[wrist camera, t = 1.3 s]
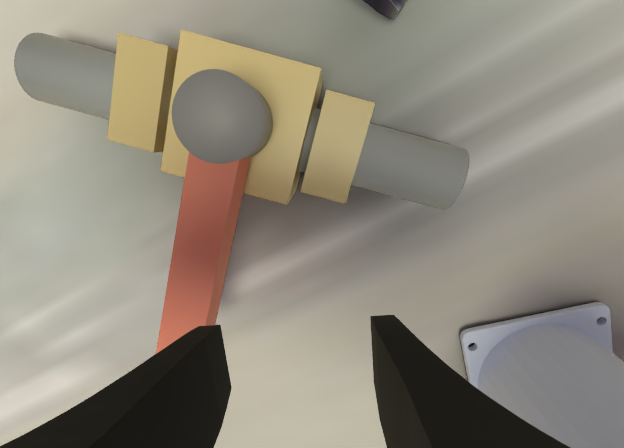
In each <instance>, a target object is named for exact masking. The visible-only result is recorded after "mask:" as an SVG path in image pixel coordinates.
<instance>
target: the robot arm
mask: <svg viewBox="0 0 624 448" xmlns="http://www.w3.org/2000/svg"><path fill="white" fill-rule="evenodd" d="M600 317H601V319H600V320H599V321H597V320H598V318H600ZM371 334H372V352H373V371H374V384H375V391H376V398H377V404H378V410H379V417H380V422H381V426H382V430H383V433H384V437H385V441H386V445H387V448H624V361H622V360H621V359H620V358H618V357H617V356H616V355H614V354H613V346H612V331H611V317H610V309H609V307H608V306H606V305H605V304H603V303H601V302H594V303H589V304H584V305H579V306H575V307H570V308H565V309H560V310H555V311H550V312H545V313H541V314H536V315H531V316H526V317H521V318H516V319H511V320H507V321H502V322H497V323H492V324H487V325H482V326H477V327H473V328H468V329H465V330H463V331H462V332H461V334H460V340H461V345H462V351H463V356H464V361H465V366H466V372H467V377H468V381H467V380H465V379H464V378H463V377H462V376H460V375H459V374H458V373H457V372H455V371H454V370H453V369H451V368H450V367H449V366H448V365H447V364H445V363H444V362H443V361H442V360H441V359H440V358H439V357H438V356H436V355H435V354H434V353H433V352H432V351H431V350H430V349H428V348H427V347H426V346H425V345H424V344H423V343H422V342H421V341H420V340H419V339H418V338H417V337H416V336H415V335H414V334H413V333H412V332H411V331H410V330H409V329H408V328H407V327H406V326H405V325H404V324H403V323H402V322H401V321H400V320H399V319H398V318H396V317H395V316H394V315H384V316H371ZM471 343H474V345H473V346H471V347H468V345H469V344H471ZM230 392H231V383H230V377H229V372H228V366H227V360H226V355H225V349H224V343H223V338H222V332H221V326H220V325H210V326H198V327H196V328H195V329H193V330H191V331H189V332H188V333H186V334H185V335H183V336H182V337H180V338H179V339H177V340H176V341H174V342H173V343H171V344H170V345H168V346H167V347H166V348H164V349H163V350H161V351H160V352H158V353H157V354H155V355H154V356H152V357H151V358H150V359H148V360H147V361H145V362H144V363H142V364H141V365H139V366H138V367H136V368H135V369H133V370H132V371H130V372H129V373H127V374H126V375H124V376H123V377H121V378H119V379H118V380H116V381H115V382H113V383H112V384H110V385H109V386H107V387H105V388H104V389H102V390H101V391H99V392H98V393H96V394H94V395H93V396H91V397H90V398H88V399H86V400H85V401H83V402H81V403H80V404H78V405H76V406H75V407H73V408H71V409H70V410H68V411H66V412H64V413H63V414H61V415H59V416H57V417H55V418H54V419H52V420H50V421H48V422H46V423H45V424H43V425H41V426H39V427H37V428H35V429H34V430H32V431H30V432H28V433H26V434H24V435H22V436H20V437H18V438H16V439H14V440H12V441H10V442H8V443H6V444H4V445H2V446H0V448H213V447H214V445H215V442H216V440H217V437H218V434H219V432H220V429H221V426H222V423H223V419H224V416H225V412H226V408H227V404H228V400H229V396H230Z"/></svg>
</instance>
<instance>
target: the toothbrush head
mask: <svg viewBox="0 0 624 448" xmlns="http://www.w3.org/2000/svg"><path fill="white" fill-rule="evenodd" d="M364 1H365V2H366V3H368V4H369V5H370V6H371V7H373V8H374V9H375V10H376V11H378V12H379V13H381V14H383V15H385V16H388V17H390V18H392V19H394V20H395V18H396V17H397V15H398V14H399V12H400V11H401V9H402V8H403V6H404V5H405V3H406V2H407V0H364Z"/></svg>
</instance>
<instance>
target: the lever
mask: <svg viewBox="0 0 624 448" xmlns="http://www.w3.org/2000/svg"><path fill="white" fill-rule="evenodd" d="M172 122H173V127H174V130H175V132H176V135H177V137H178V139H179V140H180V142H181V143H182V145H183V146H184V147H185V148H186V149H187V150H188V151H189V155H188V161H187V168H186V174H185V180H184V186H183V192H182V198H181V204H180V210H179V216H178V222H177V229H176V235H175V241H174V247H173V253H172V259H171V265H170V271H169V277H168V283H167V290H166V296H165V302H164V308H163V314H162V320H161V326H160V332H159V338H158V345H157V351H156V354H157V353H158V352H160V351H161V350H163V349H164V348H166V347H167V346H168V345H170V344H171V343H173V342H174V341H176V340H177V339H179V338H180V337H182V336H183V335H185V334H186V333H188V332H189V331H191V330H193V329H195V328H196V327H198V326H210V325H215V323H216V319H217V314H218V309H219V304H220V300H221V295H222V290H223V286H224V281H225V276H226V271H227V267H228V262H229V257H230V252H231V248H232V243H233V238H234V234H235V229H236V224H237V219H238V215H239V210H240V205H241V200H242V196H243V191H244V186H245V181H246V177H247V172H248V167H249V163H250V158H251V157H252V156H254V155H256V154H257V153H259V152H260V151H261V150H262V149H263V148H264V147H265V146H266V144H267V143H268V141H269V139H270V136H271V133H272V128H273V118H272V113H271V109H270V107H269V104H268V102H267V101H266V99H265V98H264V97H263V95H262V94H261V93H260V92H259V91H258V90H256V89H255V88H254V87H252V86H251V85H249V84H248V83H246V82H245V81H244V80H242V79H241V78H239V77H238V76H236V75H234V74H232V73H230V72H228V71H225V70H220V69H206V70H202V71H199V72H197V73H195V74H193V75H191V76H190V77H188V78H187V79H186V80H185V81H184V82H183V83H182V84H181V86H180V87H179V88H178V90H177V92H176V94H175V97H174V100H173V104H172Z"/></svg>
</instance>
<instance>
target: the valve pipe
mask: <svg viewBox="0 0 624 448" xmlns="http://www.w3.org/2000/svg"><path fill="white" fill-rule="evenodd" d="M14 66H15V72H16V76H17V79H18V81H19V83H20V85H21V87H22V88H23V90H24V91H25V92H26V93H27V94H28V95H29V96H31V97H32V98H34V99H36V100H38V101H42V102H46V103H49V104H53V105H57V106H61V107H64V108H68V109H72V110H75V111H79V112H83V113H86V114H90V115H94V116H98V117H101V118H105V119H109V128H108V138H107V140H109V141H113V142H117V143H121V144H124V145H128V146H132V147H135V148H139V149H143V150H147V151H150V152H163V157H162V164H161V171H162V172H166V173H170V174H173V175H177V176H181V177H185V174H186V168H187V161H188V155H189V151H188V150H187V149H186V148H185V147H184V146H183V145H182V143H181V142H180V140H179V139H178V137H177V135H176V132H175V130H174V127H173V122H172V104H173V100H174V97H175V94H176V92H177V90H178V88H179V87H180V86H181V84H182V83H183V82H184V81H185V80H186V79H187V78H188V77H190V76H191V75H193V74H195V73H197V72H199V71H202V70H206V69H220V70H225V71H228V72H230V73H232V74H234V75H236V76H238V77H239V78H241V79H242V80H244V81H245V82H246V83H248V84H249V85H251V86H252V87H254V88H255V89H256V90H258V91H259V92H260V93H261V94H262V95H263V97H264V98H265V99H266V101H267V102H268V104H269V107H270V109H271V113H272V118H273V128H272V133H271V136H270V139H269V141H268V143H267V144H266V146H265V147H264V148H263V149H262V150H261V151H260V152H259V153H257V154H256V155H254V156H252V157H251V158H250V163H249V167H248V172H247V177H246V181H245V186H244V191H243V193H244V194H248V195H252V196H255V197H259V198H263V199H267V200H270V201H274V202H278V203H282V204H285V205H288V203H289V202H290V200H291V198H292V197H293V195H294V194H295V192H296V189H297V185H298V181H299V177H300V173H301V172H305V175H304V179H303V183H302V187H301V191H300V192H303V193H306V194H310V195H314V196H318V197H321V198H325V199H329V200H332V201H336V202H340V203H344V204H346V201H347V198H348V194H349V191H350V187H351V185H353V186H357V187H360V188H364V189H368V190H372V191H375V192H379V193H383V194H386V195H390V196H394V197H397V198H401V199H405V200H409V201H412V202H416V203H420V204H423V205H427V206H431V207H434V208H438V209H442V210H445V209H447V208H449V207H450V206H451V205H452V204H453V203H454V202H455V200H456V199H457V197H458V196H459V194H460V192H461V190H462V188H463V185H464V183H465V180H466V177H467V173H468V168H469V154H468V152H467V150H466V149H463V148H460V147H456V146H452V145H449V144H445V143H442V142H438V141H434V140H431V139H427V138H423V137H420V136H416V135H412V134H409V133H405V132H401V131H398V130H394V129H390V128H387V127H383V126H379V125H376V124H372V123H370V120H371V116H372V113H373V109H374V106H375V103H374V102H370V101H366V100H363V99H359V98H355V97H352V96H348V95H344V94H341V93H337V92H334V91H330V90H326V93H325V97H324V101H323V105H322V109H317V106H318V102H319V98H320V94H321V90H322V86H323V80H322V70H321V68H319V67H315V66H312V65H308V64H305V63H301V62H297V61H294V60H290V59H286V58H283V57H279V56H276V55H272V54H268V53H265V52H261V51H257V50H254V49H250V48H247V47H243V46H239V45H236V44H232V43H228V42H225V41H221V40H218V39H214V38H210V37H207V36H203V35H199V34H196V33H192V32H189V31H185V30H181V33H180V39H179V46H178V52H177V51H176V50H174V49H172V48H171V47H169V46H166V45H163V44H159V43H155V42H152V41H148V40H144V39H141V38H137V37H133V36H130V35H126V34H123V33H119V32H118V39H117V49H116V53H113V52H109V51H105V50H102V49H98V48H94V47H91V46H87V45H83V44H80V43H76V42H73V41H69V40H65V39H62V38H58V37H54V36H51V35H47V34H43V33H32V34H29V35H27V36H26V37H24V38H23V39H22V40H21V42H20V43H19V45H18V47H17V50H16V53H15V59H14Z"/></svg>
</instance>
